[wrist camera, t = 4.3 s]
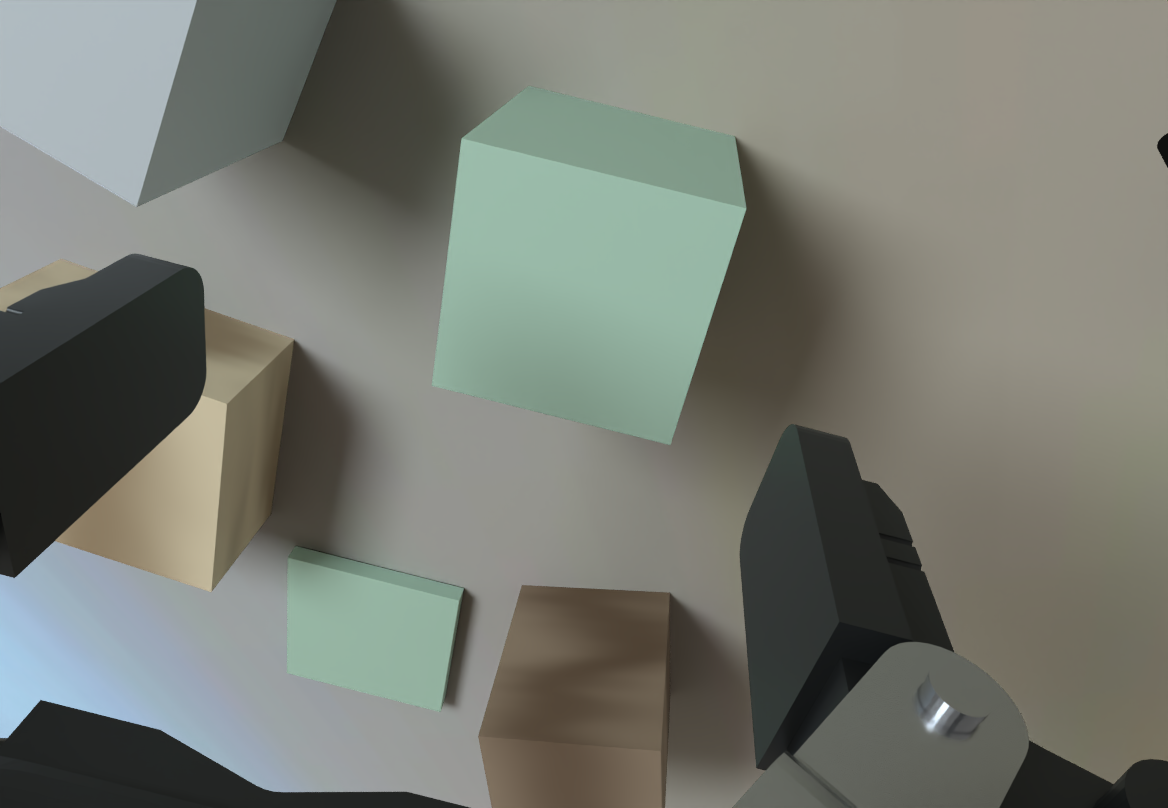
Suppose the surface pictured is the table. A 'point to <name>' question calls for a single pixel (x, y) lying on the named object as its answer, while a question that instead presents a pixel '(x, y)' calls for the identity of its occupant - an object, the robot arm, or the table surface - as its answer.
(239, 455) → the maple base
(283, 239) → the table surface
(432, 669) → the tile
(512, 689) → the walnut block
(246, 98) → the grey block
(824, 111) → the table surface
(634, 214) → the green block
